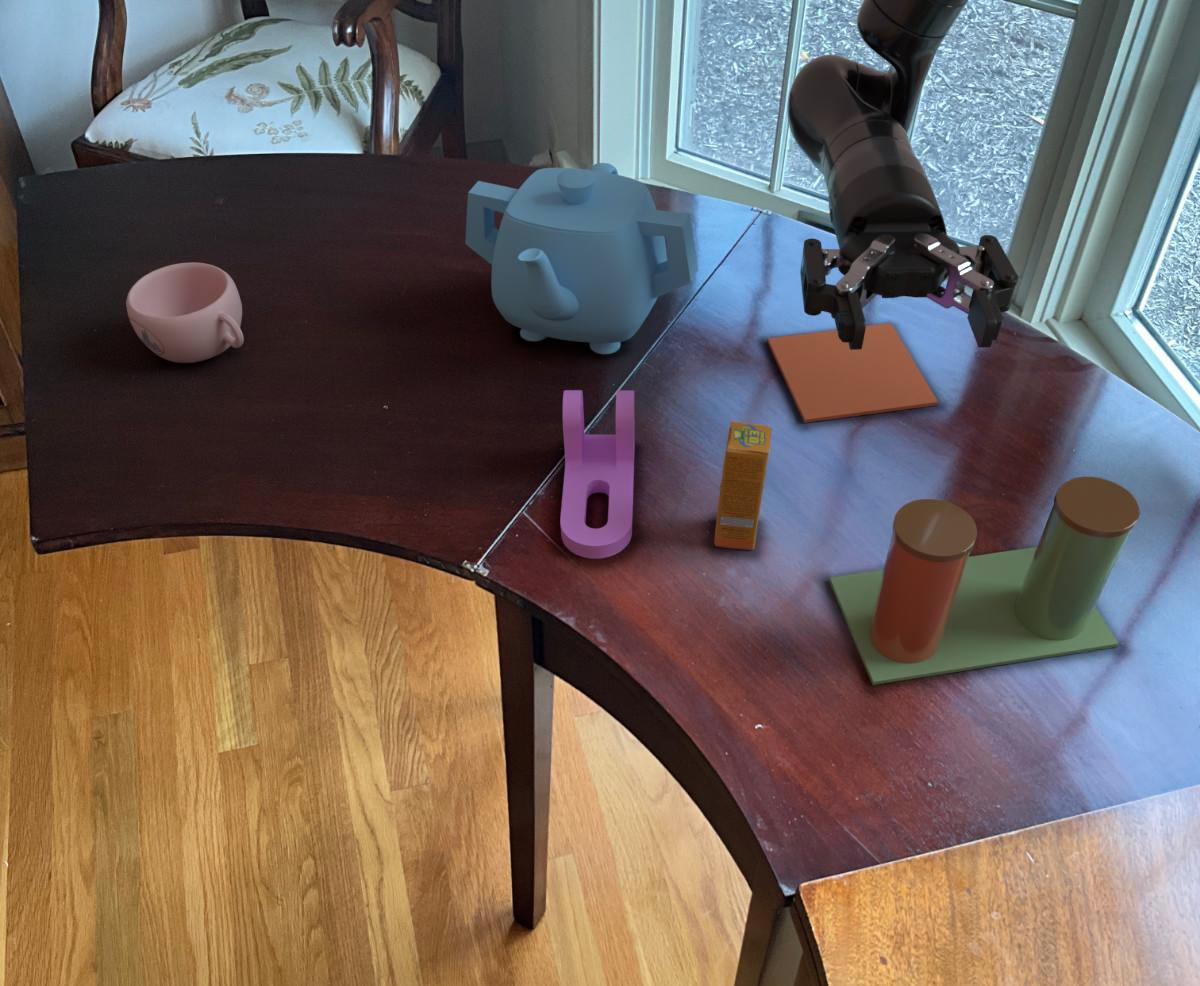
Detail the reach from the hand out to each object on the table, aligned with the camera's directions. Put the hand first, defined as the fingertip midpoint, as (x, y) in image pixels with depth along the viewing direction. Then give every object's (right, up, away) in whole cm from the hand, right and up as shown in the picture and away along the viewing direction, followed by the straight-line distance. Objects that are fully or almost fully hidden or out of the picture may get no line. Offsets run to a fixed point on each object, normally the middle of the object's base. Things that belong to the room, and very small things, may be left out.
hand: (923, 337), depth 73 cm
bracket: (-22, -9, +17) cm, 29 cm away
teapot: (-24, +9, +33) cm, 41 cm away
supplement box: (-11, -12, +14) cm, 21 cm away
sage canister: (+11, -18, +7) cm, 23 cm away
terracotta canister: (0, -20, +6) cm, 21 cm away
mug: (-59, +7, +32) cm, 67 cm away
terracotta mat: (+1, +3, +27) cm, 27 cm away
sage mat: (+5, -18, +8) cm, 21 cm away
